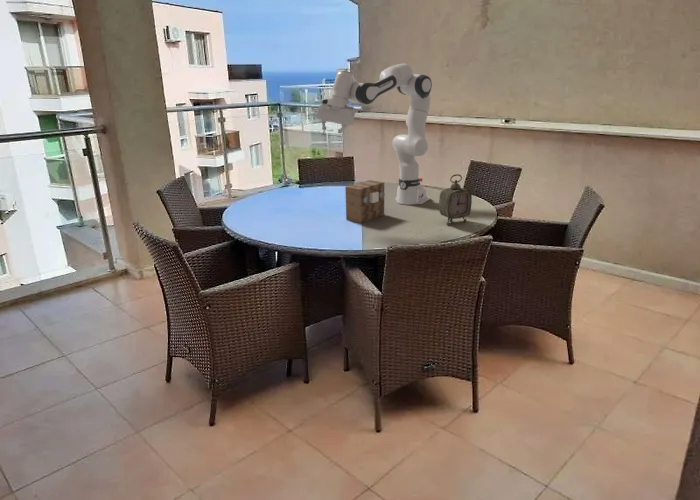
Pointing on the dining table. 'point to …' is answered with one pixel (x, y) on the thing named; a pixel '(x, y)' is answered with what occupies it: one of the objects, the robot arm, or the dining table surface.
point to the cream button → (373, 197)
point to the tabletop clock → (455, 201)
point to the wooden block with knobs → (364, 201)
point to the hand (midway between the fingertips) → (331, 131)
